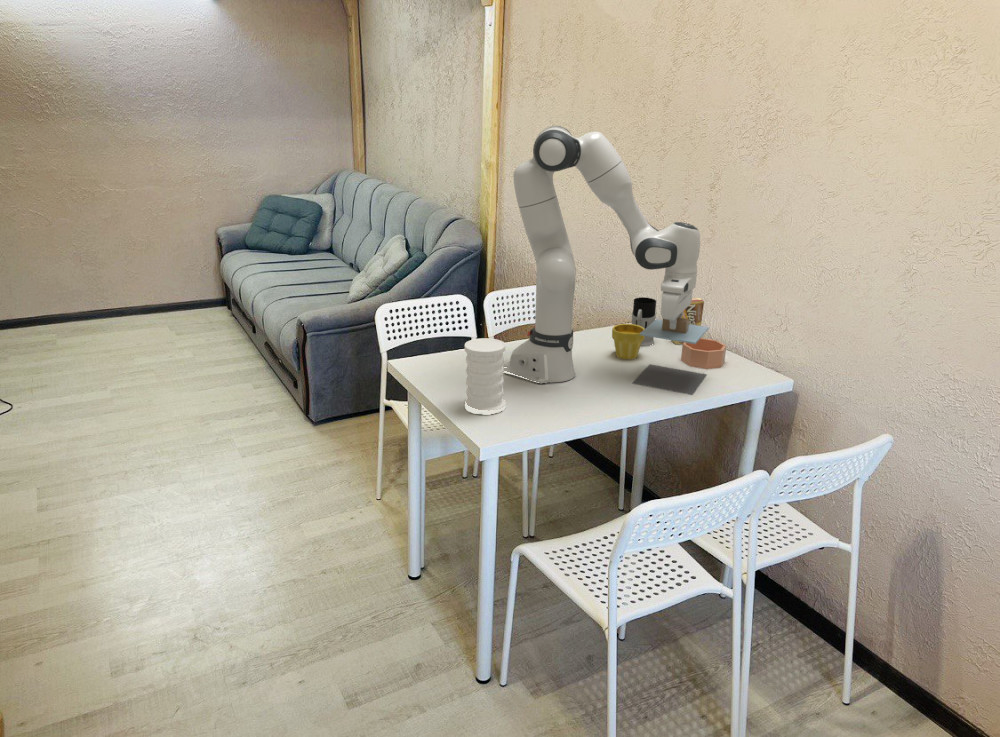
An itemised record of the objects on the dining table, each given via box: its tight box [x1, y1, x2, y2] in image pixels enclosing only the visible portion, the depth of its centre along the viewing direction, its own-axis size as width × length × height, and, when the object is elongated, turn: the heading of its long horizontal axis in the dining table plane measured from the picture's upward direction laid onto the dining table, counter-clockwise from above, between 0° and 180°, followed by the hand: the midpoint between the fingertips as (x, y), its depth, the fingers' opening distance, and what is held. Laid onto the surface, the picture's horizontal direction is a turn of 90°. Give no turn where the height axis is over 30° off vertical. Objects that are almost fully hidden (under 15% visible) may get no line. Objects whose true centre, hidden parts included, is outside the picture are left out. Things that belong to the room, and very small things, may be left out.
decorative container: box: [464, 337, 507, 411], centre depth 190 cm, size 12×12×18 cm
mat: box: [631, 364, 708, 396], centre depth 212 cm, size 18×18×1 cm
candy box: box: [670, 297, 705, 345], centre depth 242 cm, size 9×4×15 cm, turn 103°
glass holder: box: [631, 296, 657, 347], centre depth 239 cm, size 9×14×15 cm, turn 158°
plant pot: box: [611, 323, 644, 360], centre depth 229 cm, size 10×10×10 cm
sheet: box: [640, 318, 710, 344], centre depth 206 cm, size 16×16×4 cm
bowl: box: [680, 337, 727, 370], centre depth 225 cm, size 13×13×6 cm
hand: (675, 326), depth 206 cm, fingers closed on sheet, 3 cm apart
